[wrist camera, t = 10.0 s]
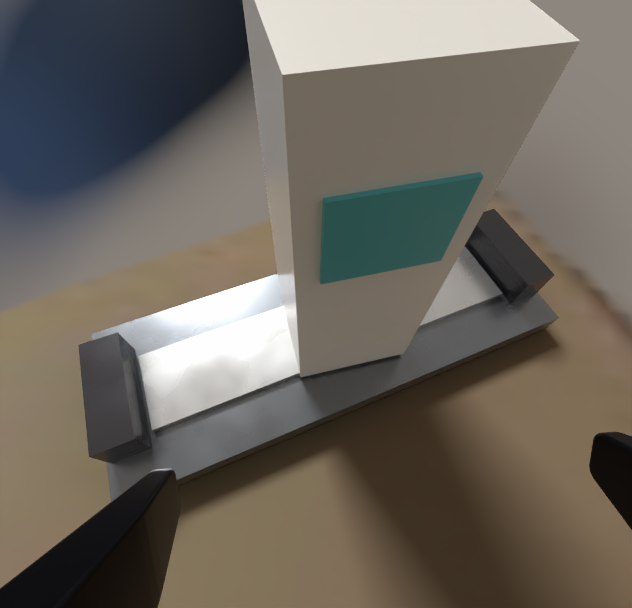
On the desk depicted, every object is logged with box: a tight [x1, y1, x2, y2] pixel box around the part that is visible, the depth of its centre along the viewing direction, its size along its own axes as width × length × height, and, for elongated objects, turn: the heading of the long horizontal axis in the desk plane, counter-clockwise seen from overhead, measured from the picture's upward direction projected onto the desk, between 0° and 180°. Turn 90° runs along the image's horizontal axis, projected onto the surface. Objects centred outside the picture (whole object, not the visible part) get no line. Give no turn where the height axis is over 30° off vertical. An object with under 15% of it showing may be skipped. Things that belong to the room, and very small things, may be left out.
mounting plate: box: [79, 209, 559, 502], centre depth 18 cm, size 8×22×3 cm, turn 113°
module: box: [243, 0, 580, 377], centre depth 12 cm, size 5×5×13 cm
